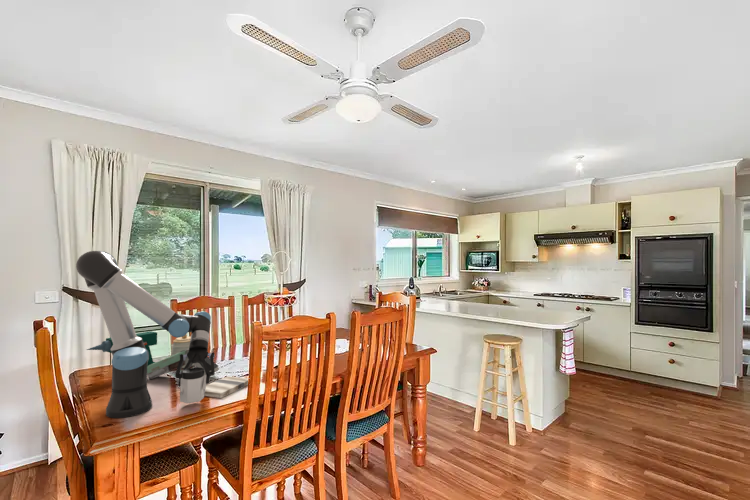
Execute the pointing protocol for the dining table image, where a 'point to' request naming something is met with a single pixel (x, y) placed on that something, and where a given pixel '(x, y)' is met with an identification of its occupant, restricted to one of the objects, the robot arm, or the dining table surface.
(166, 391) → the dining table surface
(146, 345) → the power tool
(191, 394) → the jar
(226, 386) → the board
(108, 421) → the dining table surface
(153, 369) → the ray gun
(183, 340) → the jar
